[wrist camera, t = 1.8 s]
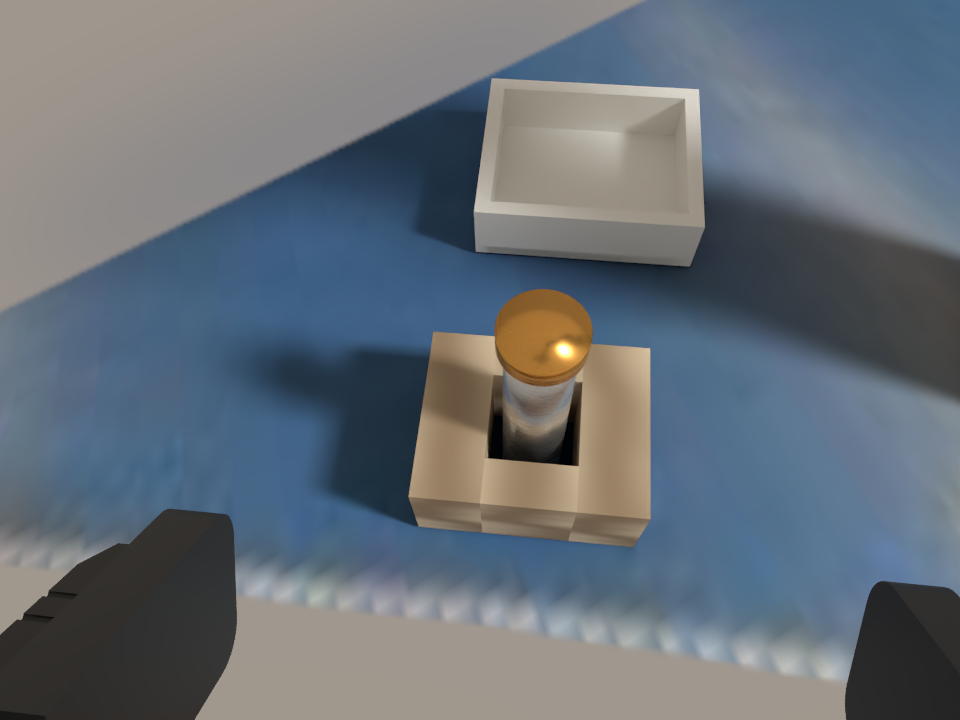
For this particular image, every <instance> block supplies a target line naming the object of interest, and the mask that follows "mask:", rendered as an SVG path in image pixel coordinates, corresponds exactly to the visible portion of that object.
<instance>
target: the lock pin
mask: <svg viewBox="0 0 960 720" xmlns="http://www.w3.org/2000/svg"><path fill="white" fill-rule="evenodd" d="M592 336H593V329H592V323H591V320H590V317H589V315H588V314H587V312H586V310H585V309H584V308H583V307H582V305H581V304H580V303H578V302H577V301H576V300H575V299H573V298H572V297H570V296H568V295H566V294H564V293H561V292H559V291H554V290H548V289H537V290H531V291H527V292H524V293H521V294H519V295H517V296H515V297H514V298H512V299H511V300H509V301H508V302H507V303H506V304H505V305H504V306H503V308H502V309H501V311H500V312H499V314H498V316H497V319H496V323H495V351H496V355H497V358H498V360H499V362H500V364H501V365H502V367H503V460H511V461H523V462H534V463H545V464H557V465H559V461H560V456H561V451H562V446H563V441H564V435H565V430H566V425H567V420H568V415H569V410H570V404H571V399H572V394H573V389H574V384H575V379H576V375H577V374H578V373H579V372H580V371H581V369H582V368H583V367H584V365H585V363H586V361H587V359H588V355H589V351H590V347H591V342H592Z"/></svg>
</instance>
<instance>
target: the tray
mask: <svg viewBox="0 0 960 720" xmlns="http://www.w3.org/2000/svg"><path fill="white" fill-rule="evenodd" d="M474 226H475V247H476V252H487V253H501V254H516V255H530V256H544V257H559V258H573V259H587V260H602V261H616V262H630V263H645V264H659V265H673V266H688V267H690V265H691V263H692V260H693V257H694V255H695V252H696V250H697V247H698V244H699V242H700V239H701V236H702V234H703V231H704V229H705V216H704V194H703V172H702V151H701V129H700V107H699V89H682V88H663V87H644V86H626V85H607V84H588V83H570V82H551V81H532V80H513V79H495V78H492V81H491V89H490V96H489V104H488V111H487V118H486V126H485V133H484V140H483V148H482V155H481V163H480V170H479V177H478V185H477V192H476V200H475V207H474Z"/></svg>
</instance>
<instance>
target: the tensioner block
mask: <svg viewBox="0 0 960 720" xmlns="http://www.w3.org/2000/svg"><path fill="white" fill-rule="evenodd" d="M494 415H495V416H503V367H502V365H501V364H500V362H499V360H498V358H497V355H496V351H495V336H482V335H469V334H456V333H444V332H433V339H432V346H431V352H430V359H429V365H428V372H427V378H426V385H425V391H424V398H423V405H422V411H421V418H420V424H419V431H418V437H417V444H416V451H415V457H414V464H413V470H412V477H411V483H410V490H409V496H408V497H409V500H410V503H411V506H412V509H413V511H414V514H415V517H416V520H417V523H418V526H419V527H428V528H438V529H449V530H459V531H470V532H480V533H491V534H501V535H512V536H522V537H532V538H543V539H553V540H564V541H574V542H585V543H595V544H606V545H616V546H627V547H634V545H635V544H636V542H637V540H638V539H639V537H640V536H641V534H642V532H643V531H644V529H645V527H646V526H647V524H648V523H649V521H650V519H651V517H650V348H637V347H624V346H612V345H599V344H591V347H590V351H589V355H588V359H587V361H586V363H585V365H584V367H583V368H582V369H581V371H580V372H579V373H578V374H577V375H576V379H575V384H574V389H573V394H572V399H571V404H570V410H569V415H568V420H567V422H574V430H573V451H572V466H568V465H557V464H545V463H534V462H523V461H511V460H500V459H490V453H491V443H492V433H493V423H494Z"/></svg>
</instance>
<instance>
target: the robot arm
mask: <svg viewBox="0 0 960 720" xmlns="http://www.w3.org/2000/svg"><path fill="white" fill-rule="evenodd" d="M236 626H237V610H236V581H235V554H234V532H233V525H232V522H231V519H230V518H229V516H228V515H226V514H218V513H208V512H198V511H188V510H178V509H167V510H165V511H163V512H162V513H161V514H160V515H159V516H158V517H157V518H156V519H155V520H154V521H153V522H152V523H151V524H150V525H148V526H147V527H146V528H145V529H144V530H143V531H142V532H141V533H140V534H139V535H138V536H137V537H136V538H135V539H134V540H133V541H132V542H131V543H130V544H120V543H118V544H116V545H114V546H112V547H110V548H108V549H106V550H105V551H103V552H101V553H99V554H97V555H95V556H93V557H91V558H89V559H87V560H85V561H83V562H81V563H79V564H78V565H76V566H75V567H74V568H73V569H72V570H71V571H70V572H69V573H68V574H67V575H65V576H64V577H63V578H62V579H61V580H60V581H59V582H58V583H57V584H56V585H55V586H53V587H52V588H51V589H50V590H49V593H48V596H47V597H44V596H43V597H41V598H40V599H39V600H38V601H37V602H36V603H35V604H34V605H33V606H31V607H30V608H29V609H28V610H27V611H26V612H25V613H24V616H23V619H22V620H16V621H15V622H14V623H13V624H12V625H11V626H9V628H7V629H6V630H5V631H4V632H3V633H2V634H1V635H0V720H195V718H196V716H197V715H198V713H199V711H200V710H201V708H202V706H203V705H204V703H205V701H206V700H207V698H208V696H209V695H210V693H211V691H212V690H213V688H214V687H215V685H216V683H217V682H218V680H219V678H220V677H221V675H222V673H223V671H224V670H225V668H226V666H227V663H228V661H229V658H230V655H231V652H232V648H233V644H234V640H235V634H236ZM845 712H846V720H960V597H959V596H958V595H957V594H956V593H955V592H954V591H952V590H951V589H949V588H945V587H937V586H927V585H917V584H906V583H896V582H886V581H881V582H878V583H877V584H876V585H874V587H873V588H872V590H871V592H870V594H869V597H868V600H867V604H866V608H865V612H864V616H863V620H862V625H861V629H860V633H859V637H858V641H857V645H856V649H855V653H854V657H853V662H852V666H851V670H850V674H849V678H848V682H847V687H846V695H845Z"/></svg>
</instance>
